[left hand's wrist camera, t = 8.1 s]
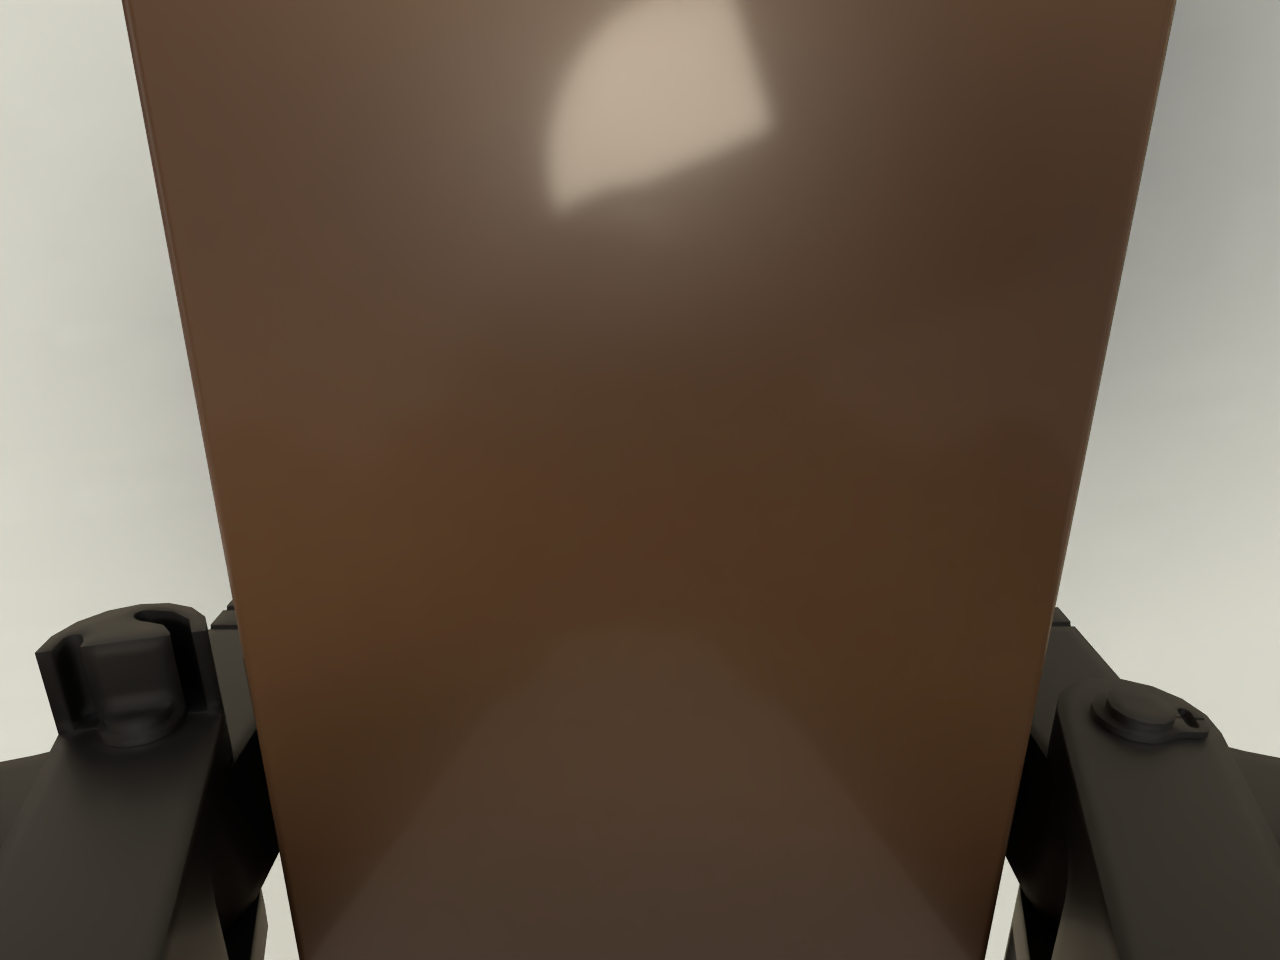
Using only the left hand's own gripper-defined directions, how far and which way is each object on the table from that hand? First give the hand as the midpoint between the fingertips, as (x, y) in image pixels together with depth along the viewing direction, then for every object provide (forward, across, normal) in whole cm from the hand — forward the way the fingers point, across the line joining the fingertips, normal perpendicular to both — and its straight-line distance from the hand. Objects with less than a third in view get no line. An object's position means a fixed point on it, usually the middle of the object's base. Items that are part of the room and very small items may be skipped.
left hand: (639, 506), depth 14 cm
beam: (+1, 0, -25) cm, 25 cm away
